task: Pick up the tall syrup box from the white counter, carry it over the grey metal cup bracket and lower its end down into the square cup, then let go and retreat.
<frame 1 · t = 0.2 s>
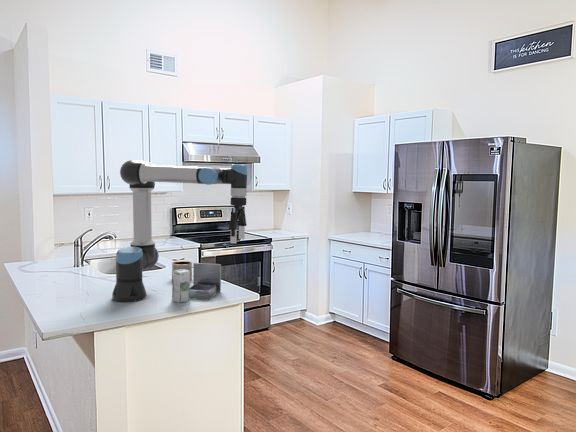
hand: (237, 241, 219), 28 cm above the countertop, fingers open, 13 cm apart
planter: (181, 280, 255), on the countertop
syrup box: (180, 301, 213), on the countertop
cup bracket: (201, 295, 223), on the countertop
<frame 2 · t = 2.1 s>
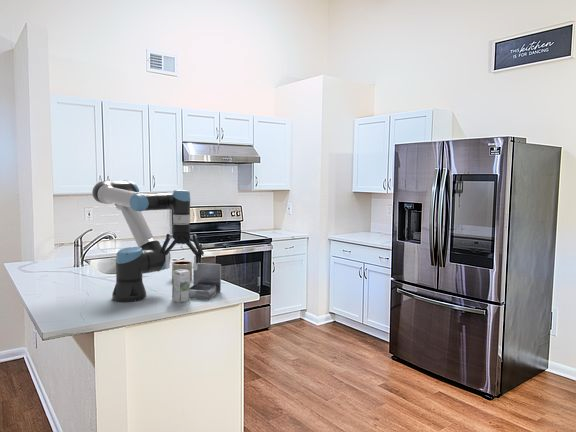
hand: (181, 269, 212), 15 cm above the countertop, fingers open, 13 cm apart
nothing on the countertop moved.
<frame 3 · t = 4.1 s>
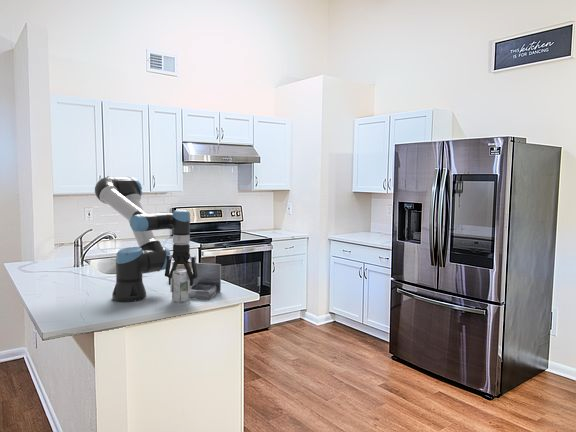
hand: (180, 292, 213), 4 cm above the countertop, fingers closed on syrup box, 8 cm apart
syrup box: (180, 301, 213), on the countertop, touching gripper
everything else where it was.
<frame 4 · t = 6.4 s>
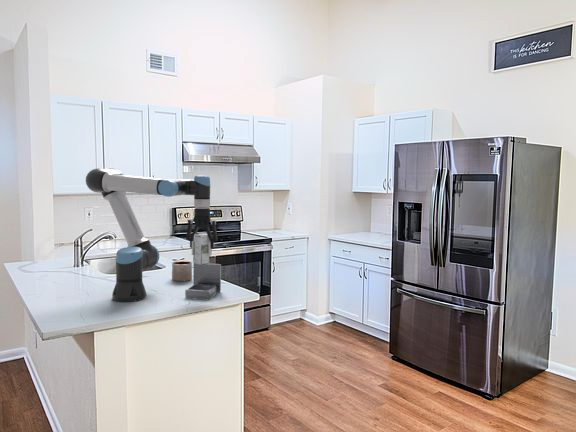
hand: (201, 254, 221), 20 cm above the countertop, fingers closed on syrup box, 8 cm apart
syrup box: (201, 263, 221), point 16 cm above the countertop, touching gripper
everything else where it was.
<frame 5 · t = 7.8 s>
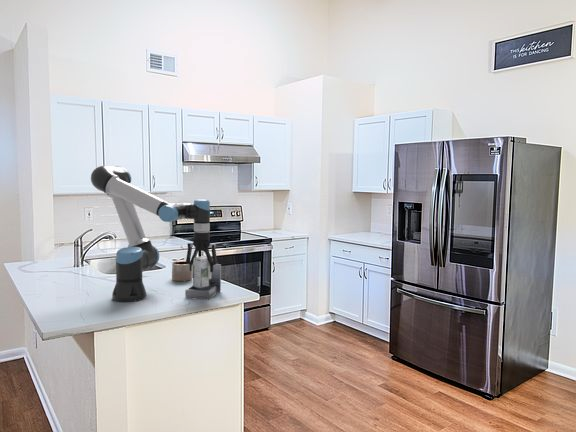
hand: (201, 278, 222), 9 cm above the countertop, fingers closed on syrup box, 8 cm apart
syrup box: (201, 287, 223), point 4 cm above the countertop, touching gripper
everything else where it was.
when the fingers open (7 cm above the countertop, at t = 8.9 s): syrup box drops 2 cm, resting on cup bracket.
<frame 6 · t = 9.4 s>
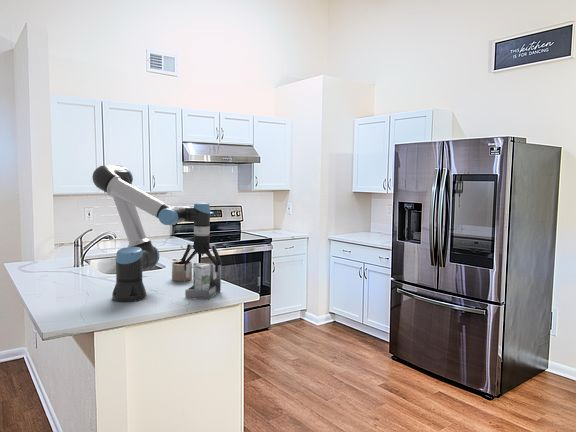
hand: (201, 278, 222), 9 cm above the countertop, fingers open, 13 cm apart
syrup box: (201, 294, 223), point 1 cm above the countertop, touching cup bracket
everything else where it was.
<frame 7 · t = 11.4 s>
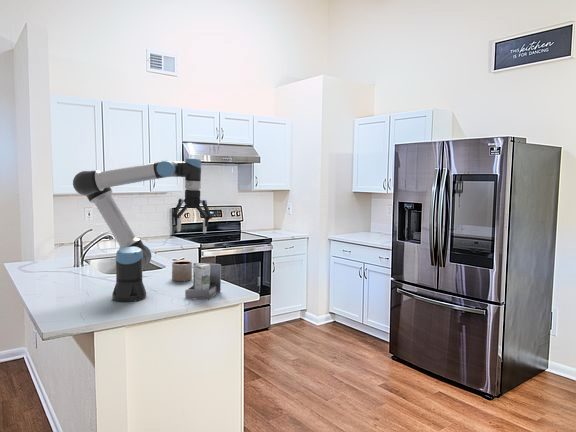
hand: (191, 232, 228), 30 cm above the countertop, fingers open, 13 cm apart
nothing on the countertop moved.
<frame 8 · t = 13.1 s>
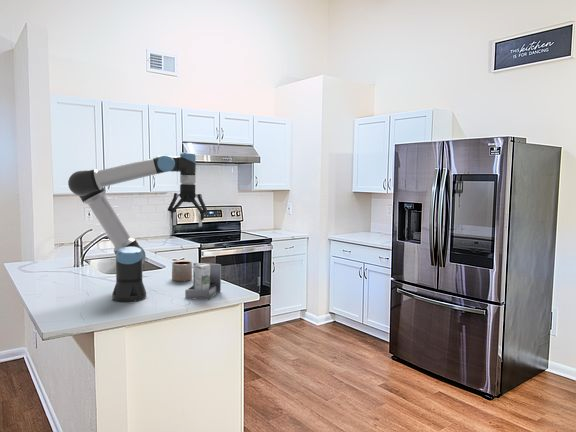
hand: (187, 225, 231), 33 cm above the countertop, fingers open, 13 cm apart
nothing on the countertop moved.
at the end: syrup box inside the target area on the cup bracket (0.3 cm from its centre), point 0.8 cm above the cup bracket's base; syrup box tilted 0°; the gripper is holding nothing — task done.
